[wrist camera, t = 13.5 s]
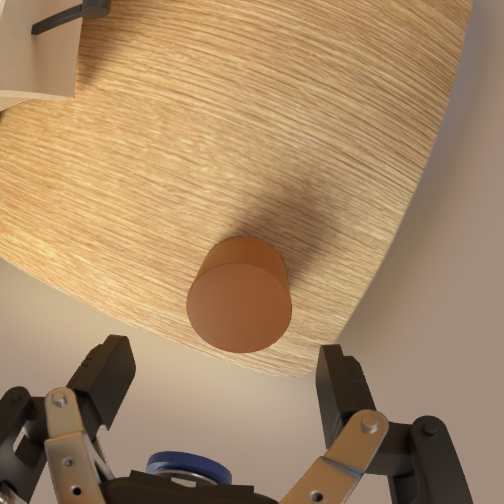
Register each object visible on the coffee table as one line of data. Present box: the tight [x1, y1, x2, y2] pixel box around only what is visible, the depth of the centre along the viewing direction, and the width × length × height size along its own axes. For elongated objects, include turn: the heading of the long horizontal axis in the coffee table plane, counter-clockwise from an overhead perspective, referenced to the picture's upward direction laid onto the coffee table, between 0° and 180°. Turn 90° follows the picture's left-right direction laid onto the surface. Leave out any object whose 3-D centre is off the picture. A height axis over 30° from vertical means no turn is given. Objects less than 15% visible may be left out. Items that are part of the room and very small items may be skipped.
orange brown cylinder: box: [186, 237, 292, 353], centre depth 18 cm, size 6×6×4 cm
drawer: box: [0, 0, 111, 111], centre depth 9 cm, size 20×13×8 cm
